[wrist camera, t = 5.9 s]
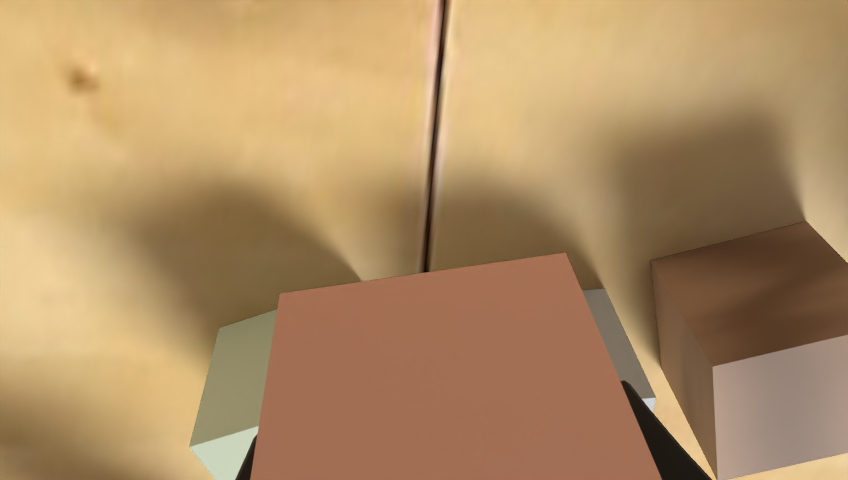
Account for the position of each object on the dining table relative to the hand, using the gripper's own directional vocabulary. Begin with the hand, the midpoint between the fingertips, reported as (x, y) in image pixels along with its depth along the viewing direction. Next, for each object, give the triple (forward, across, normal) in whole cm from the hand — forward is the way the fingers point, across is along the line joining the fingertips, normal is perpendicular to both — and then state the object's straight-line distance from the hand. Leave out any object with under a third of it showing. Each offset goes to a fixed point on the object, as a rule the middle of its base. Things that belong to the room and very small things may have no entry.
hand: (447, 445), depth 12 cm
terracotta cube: (+2, 0, 0) cm, 2 cm away
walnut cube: (+10, -10, +6) cm, 16 cm away
